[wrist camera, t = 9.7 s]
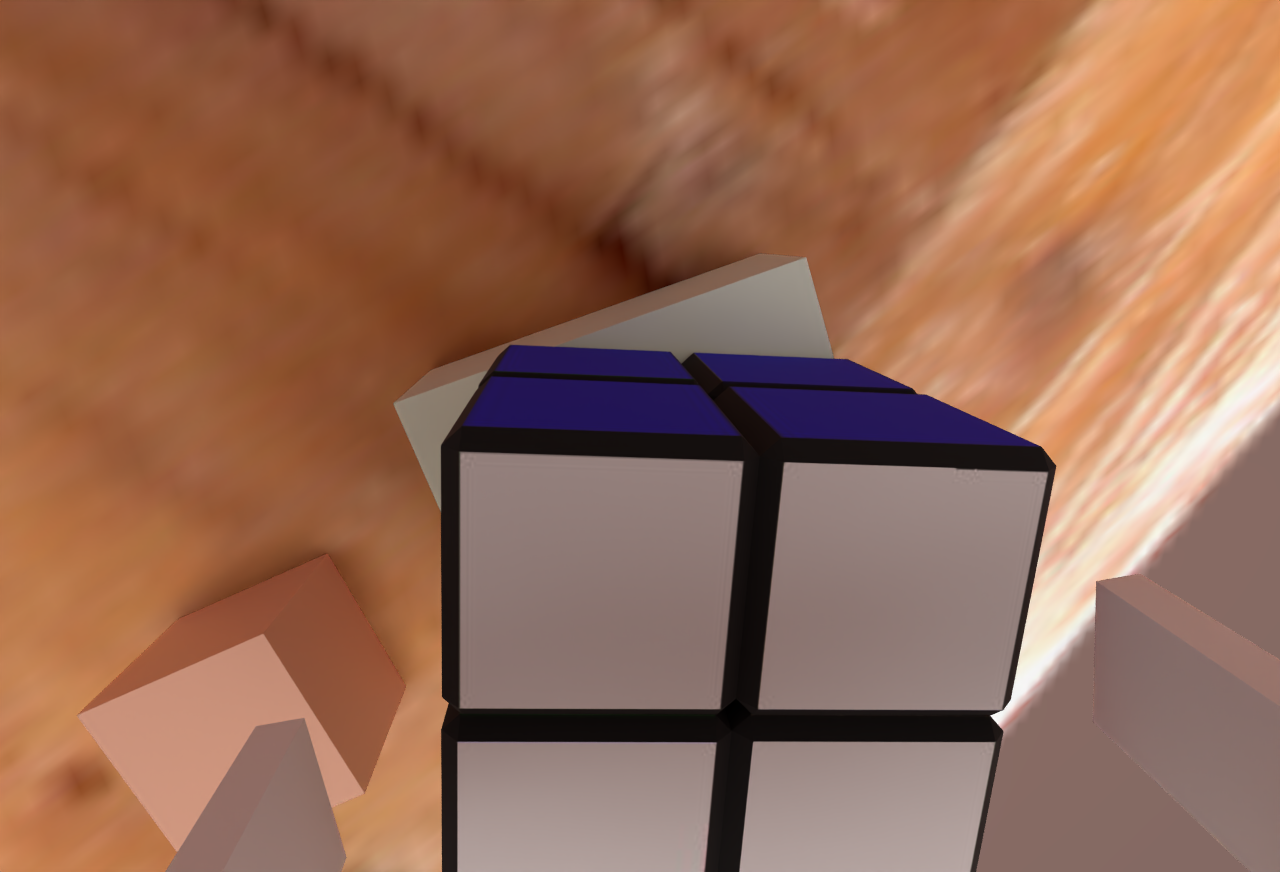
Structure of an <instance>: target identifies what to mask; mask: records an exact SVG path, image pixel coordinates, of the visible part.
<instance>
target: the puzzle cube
mask: <svg viewBox="0 0 1280 872" xmlns="http://www.w3.org/2000/svg"><path fill="white" fill-rule="evenodd" d="M1055 470H1056V465H1055V464H1054V462H1053V461H1052V460H1051V459H1050V457H1049V456H1048V455H1047V453H1046V452H1045V451H1044V449H1043V448H1042V447H1041V446H1038V445H1036V444H1034V443H1032V442H1030V441H1027V440H1025V439H1023V438H1021V437H1018V436H1016V435H1014V434H1012V433H1010V432H1007V431H1005V430H1003V429H1001V428H999V427H996V426H994V425H992V424H990V423H988V422H985V421H983V420H981V419H979V418H976V417H974V416H972V415H970V414H968V413H965V412H963V411H961V410H959V409H957V408H954V407H952V406H950V405H948V404H946V403H943V402H941V401H939V400H937V399H934V398H932V397H930V396H928V395H922V394H917V393H916V392H915V391H914V390H913V389H912V388H910V387H908V386H905V385H903V384H901V383H899V382H897V381H894V380H892V379H890V378H888V377H886V376H883V375H881V374H879V373H877V372H875V371H872V370H870V369H868V368H866V367H863V366H861V365H859V364H857V363H855V362H852V361H850V360H848V359H828V358H805V357H782V356H759V355H736V354H714V353H693V354H692V355H690V356H689V357H688V358H687V359H686V360H685V361H684V362H683V363H682V364H681V363H680V362H679V360H678V359H677V358H676V357H675V356H674V355H673V354H672V353H671V352H667V351H644V350H621V349H598V348H575V347H552V346H530V345H509V346H508V347H507V348H506V349H505V350H504V351H503V352H501V353H500V354H499V355H498V356H497V358H496V359H495V361H494V362H493V364H492V365H491V367H490V368H489V370H488V371H487V373H486V374H485V376H484V377H483V379H482V380H481V382H480V383H479V385H478V389H477V390H476V391H475V393H474V394H473V396H472V397H471V399H470V400H469V402H468V404H467V405H466V407H465V408H464V410H463V411H462V413H461V415H460V416H459V418H458V419H457V421H456V422H455V424H454V425H453V427H452V429H451V430H450V432H449V433H448V435H447V436H446V438H445V439H444V441H443V443H442V444H441V594H442V697H443V698H444V699H445V700H446V701H447V702H448V703H449V704H448V708H447V711H446V715H445V719H444V722H443V726H442V729H441V769H442V872H976V869H977V864H978V859H979V854H980V849H981V843H982V839H983V833H984V828H985V823H986V817H987V813H988V808H989V803H990V797H991V792H992V787H993V782H994V777H995V772H996V767H997V762H998V757H999V752H1000V746H1001V741H1002V736H1003V730H1002V729H1001V728H1000V727H999V726H998V724H997V723H996V722H995V721H994V720H993V719H992V717H991V716H990V715H993V714H995V713H997V712H1000V711H1002V710H1004V708H1005V707H1006V705H1007V704H1008V703H1009V701H1010V700H1011V695H1012V690H1013V685H1014V680H1015V675H1016V670H1017V665H1018V659H1019V654H1020V649H1021V644H1022V639H1023V634H1024V629H1025V624H1026V619H1027V613H1028V608H1029V603H1030V598H1031V593H1032V588H1033V583H1034V578H1035V573H1036V567H1037V562H1038V557H1039V552H1040V547H1041V542H1042V537H1043V532H1044V527H1045V521H1046V516H1047V511H1048V506H1049V501H1050V496H1051V491H1052V486H1053V481H1054V475H1055Z"/></svg>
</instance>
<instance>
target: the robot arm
mask: <svg viewBox="0 0 1280 872" xmlns="http://www.w3.org/2000/svg"><path fill="white" fill-rule="evenodd" d="M1094 655H1095V656H1094V694H1093V723H1095V724H1096V725H1097V726H1098V727H1099V728H1100V729H1101V730H1102V731H1103V732H1104V733H1105V734H1106V735H1107V736H1108V737H1109V738H1110V739H1111V740H1113V742H1114V743H1115V744H1116V745H1118V746H1119V747H1120V748H1121V749H1122V750H1123V751H1124V752H1125V753H1126V754H1127V755H1128V756H1129V757H1130V758H1131V759H1132V760H1133V761H1134V762H1135V763H1136V764H1137V765H1138V766H1140V767H1141V768H1142V769H1143V770H1144V771H1145V772H1146V773H1147V774H1148V775H1149V776H1150V777H1151V778H1152V779H1153V780H1154V781H1155V782H1156V783H1157V784H1158V785H1159V786H1160V787H1162V788H1163V789H1164V790H1165V791H1166V792H1167V793H1168V794H1169V795H1170V796H1171V797H1172V798H1173V799H1174V800H1175V801H1176V802H1177V803H1178V804H1179V805H1180V806H1182V807H1183V808H1184V809H1185V810H1186V811H1187V812H1188V813H1189V814H1190V815H1191V816H1192V817H1193V818H1194V819H1195V820H1196V821H1197V822H1198V823H1199V824H1200V825H1201V826H1202V827H1204V828H1205V829H1206V830H1207V831H1208V832H1209V833H1210V834H1211V835H1212V836H1213V837H1214V838H1215V839H1216V840H1217V841H1218V842H1219V843H1220V844H1221V845H1222V846H1223V847H1224V848H1226V849H1227V850H1228V851H1229V852H1230V853H1231V854H1232V855H1233V856H1234V857H1235V858H1236V859H1237V860H1238V861H1239V862H1240V863H1241V864H1242V865H1243V866H1244V867H1245V868H1246V869H1247V870H1249V871H1250V872H1280V660H1279V659H1278V658H1276V657H1275V656H1273V655H1271V654H1269V653H1268V652H1267V651H1265V650H1263V649H1262V648H1260V647H1258V646H1257V645H1255V644H1254V643H1252V642H1250V641H1249V640H1247V639H1245V638H1244V637H1242V636H1240V635H1239V634H1237V633H1236V632H1234V631H1232V630H1231V629H1229V628H1228V627H1226V626H1224V625H1223V624H1221V623H1219V622H1218V621H1216V620H1215V619H1213V618H1211V617H1210V616H1208V615H1206V614H1205V613H1203V612H1202V611H1200V610H1198V609H1197V608H1195V607H1193V606H1192V605H1190V604H1188V603H1187V602H1185V601H1184V600H1182V599H1180V598H1179V597H1177V596H1176V595H1174V594H1172V593H1171V592H1169V591H1167V590H1166V589H1164V588H1163V587H1161V586H1159V585H1158V584H1156V583H1155V582H1153V581H1151V580H1150V579H1148V578H1146V577H1145V576H1143V575H1142V574H1135V575H1130V576H1124V577H1118V578H1112V579H1106V580H1101V581H1096V614H1095V654H1094ZM345 859H346V854H345V851H344V848H343V844H342V841H341V838H340V834H339V831H338V828H337V824H336V821H335V818H334V814H333V811H332V808H331V804H330V801H329V798H328V794H327V791H326V788H325V784H324V781H323V778H322V774H321V771H320V768H319V764H318V761H317V758H316V754H315V751H314V748H313V745H312V741H311V738H310V735H309V731H308V728H307V725H306V721H305V718H300V719H294V720H289V721H283V722H277V723H271V724H265V725H259V726H256V727H255V728H254V730H253V731H252V733H251V735H250V736H249V738H248V740H247V741H246V743H245V744H244V746H243V748H242V749H241V751H240V752H239V754H238V756H237V757H236V759H235V760H234V762H233V764H232V765H231V767H230V768H229V770H228V772H227V773H226V775H225V777H224V778H223V780H222V781H221V783H220V785H219V786H218V788H217V789H216V791H215V793H214V794H213V796H212V797H211V799H210V801H209V802H208V804H207V806H206V807H205V809H204V810H203V812H202V814H201V815H200V817H199V818H198V820H197V822H196V823H195V825H194V826H193V828H192V830H191V831H190V833H189V834H188V836H187V838H186V839H185V841H184V843H183V844H182V846H181V847H180V849H179V851H178V852H177V854H176V855H175V857H174V859H173V860H172V862H171V863H170V865H169V867H168V868H167V870H166V872H341V871H342V868H343V865H344V862H345Z"/></svg>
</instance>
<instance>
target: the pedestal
mask: <svg viewBox="0 0 1280 872" xmlns="http://www.w3.org/2000/svg"><path fill="white" fill-rule="evenodd" d="M509 345H530V346H552V347H575V348H598V349H621V350H644V351H667V352H671V353H672V354H673V355H674V356H675V357H676V358H677V359H678V360H679V362H680V363H681V364H682V363H683V362H684V361H685V360H686V359H687V358H688V357H689V356H690V355H692V354H693V353H714V354H736V355H759V356H782V357H805V358H828V359H834V356H833V353H832V349H831V345H830V342H829V338H828V335H827V331H826V327H825V324H824V320H823V317H822V313H821V309H820V306H819V302H818V298H817V295H816V291H815V288H814V284H813V280H812V277H811V273H810V270H809V266H808V262H807V259H806V257H798V256H786V255H774V254H762V253H760V254H757V255H754V256H751V257H748V258H745V259H743V260H740V261H737V262H734V263H731V264H729V265H726V266H723V267H720V268H717V269H714V270H712V271H709V272H706V273H703V274H700V275H698V276H695V277H692V278H689V279H686V280H683V281H681V282H678V283H675V284H672V285H669V286H666V287H664V288H661V289H658V290H655V291H652V292H650V293H647V294H644V295H641V296H638V297H635V298H633V299H630V300H627V301H624V302H621V303H619V304H616V305H613V306H610V307H607V308H604V309H602V310H599V311H596V312H593V313H590V314H587V315H585V316H582V317H579V318H576V319H573V320H571V321H568V322H565V323H562V324H559V325H556V326H554V327H551V328H548V329H545V330H542V331H539V332H537V333H534V334H531V335H528V336H525V337H523V338H520V339H517V340H514V341H511V342H508V343H506V344H503V345H500V346H497V347H494V348H492V349H489V350H486V351H483V352H480V353H477V354H475V355H472V356H469V357H466V358H463V359H460V360H458V361H455V362H452V363H449V364H446V365H444V366H441V367H438V368H435V369H432V370H430V371H429V372H428V373H427V374H426V375H424V376H423V377H422V378H421V379H420V380H419V381H418V382H417V383H415V384H414V385H413V386H412V387H411V388H410V389H409V390H408V391H406V392H405V393H404V394H403V395H402V396H401V397H400V398H399V399H397V400H396V401H395V402H394V403H393V404H394V407H395V409H396V411H397V414H398V416H399V418H400V420H401V423H402V425H403V427H404V429H405V432H406V434H407V436H408V439H409V441H410V443H411V445H412V448H413V450H414V452H415V454H416V457H417V459H418V461H419V464H420V466H421V468H422V470H423V473H424V475H425V477H426V479H427V482H428V484H429V486H430V489H431V491H432V493H433V495H434V498H435V500H436V502H437V505H438V507H439V509H440V511H441V444H442V443H443V441H444V439H445V438H446V436H447V435H448V433H449V432H450V430H451V429H452V427H453V425H454V424H455V422H456V421H457V419H458V418H459V416H460V415H461V413H462V411H463V410H464V408H465V407H466V405H467V404H468V402H469V400H470V399H471V397H472V396H473V394H474V393H475V391H476V390H477V389H478V385H479V383H480V382H481V380H482V379H483V377H484V376H485V374H486V373H487V371H488V370H489V368H490V367H491V365H492V364H493V362H494V361H495V359H496V358H497V356H498V355H499V354H500V353H501V352H503V351H504V350H505V349H506V348H507V347H508V346H509Z"/></svg>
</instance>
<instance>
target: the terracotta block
mask: <svg viewBox="0 0 1280 872" xmlns="http://www.w3.org/2000/svg"><path fill="white" fill-rule="evenodd" d="M405 688H406V685H405V683H404V682H403V680H402V678H401V677H400V675H399V673H398V672H397V670H396V668H395V667H394V665H393V663H392V661H391V660H390V658H389V656H388V655H387V653H386V651H385V650H384V648H383V646H382V645H381V643H380V641H379V639H378V638H377V636H376V634H375V633H374V631H373V629H372V628H371V626H370V624H369V623H368V621H367V619H366V617H365V616H364V614H363V612H362V611H361V609H360V607H359V606H358V604H357V602H356V601H355V599H354V597H353V596H352V594H351V592H350V590H349V589H348V587H347V585H346V584H345V582H344V580H343V579H342V577H341V575H340V574H339V572H338V570H337V568H336V567H335V565H334V563H333V562H332V560H331V558H330V557H329V555H328V553H327V554H325V555H322V556H320V557H318V558H316V559H313V560H311V561H309V562H306V563H304V564H302V565H300V566H297V567H295V568H293V569H291V570H288V571H286V572H284V573H281V574H279V575H277V576H275V577H272V578H270V579H268V580H266V581H263V582H261V583H259V584H256V585H254V586H252V587H250V588H247V589H245V590H243V591H241V592H238V593H236V594H234V595H232V596H229V597H227V598H225V599H222V600H220V601H218V602H216V603H213V604H211V605H209V606H207V607H204V608H202V609H200V610H197V611H195V612H193V613H191V614H188V615H186V616H184V617H182V618H179V619H178V620H177V621H176V622H175V623H173V624H172V625H171V626H170V627H169V628H168V629H167V630H166V631H165V632H164V633H163V634H162V635H161V636H160V637H159V638H158V639H157V640H156V641H154V642H153V643H152V644H151V645H150V646H149V647H148V648H147V649H146V650H145V651H144V652H143V653H142V654H141V655H140V656H139V657H138V658H137V659H136V660H134V661H133V662H132V663H131V664H130V665H129V666H128V667H127V668H126V669H125V670H124V671H123V672H122V673H121V674H120V675H119V676H118V677H117V678H116V679H114V680H113V681H112V682H111V683H110V684H109V685H108V686H107V687H106V688H105V689H104V690H103V691H102V692H101V693H100V694H99V695H98V696H97V697H96V698H94V699H93V700H92V701H91V702H90V703H89V704H88V705H87V706H86V707H85V708H84V709H83V710H82V711H81V712H80V713H79V714H78V715H77V717H78V718H79V719H80V721H81V722H82V723H83V725H84V726H85V727H86V729H87V730H88V732H89V733H90V734H91V736H92V737H93V738H94V740H95V741H96V742H97V744H98V745H99V747H100V748H101V749H102V751H103V752H104V753H105V755H106V756H107V757H108V759H109V760H110V762H111V763H112V764H113V766H114V767H115V768H116V770H117V771H118V772H119V774H120V775H121V777H122V778H123V779H124V781H125V782H126V783H127V785H128V786H129V787H130V789H131V790H132V791H133V793H134V794H135V796H136V797H137V798H138V800H139V801H140V802H141V804H142V805H143V806H144V808H145V809H146V811H147V812H148V813H149V815H150V816H151V817H152V819H153V820H154V821H155V823H156V824H157V826H158V827H159V828H160V830H161V831H162V832H163V834H164V835H165V836H166V838H167V839H168V841H169V842H170V843H171V845H172V846H173V847H174V849H175V850H176V851H177V852H178V851H179V849H180V847H181V846H182V844H183V843H184V841H185V839H186V838H187V836H188V834H189V833H190V831H191V830H192V828H193V826H194V825H195V823H196V822H197V820H198V818H199V817H200V815H201V814H202V812H203V810H204V809H205V807H206V806H207V804H208V802H209V801H210V799H211V797H212V796H213V794H214V793H215V791H216V789H217V788H218V786H219V785H220V783H221V781H222V780H223V778H224V777H225V775H226V773H227V772H228V770H229V768H230V767H231V765H232V764H233V762H234V760H235V759H236V757H237V756H238V754H239V752H240V751H241V749H242V748H243V746H244V744H245V743H246V741H247V740H248V738H249V736H250V735H251V733H252V731H253V730H254V728H255V727H256V726H259V725H265V724H271V723H277V722H283V721H289V720H294V719H300V718H305V721H306V725H307V728H308V731H309V735H310V738H311V741H312V745H313V748H314V751H315V754H316V758H317V761H318V764H319V768H320V771H321V774H322V778H323V781H324V784H325V788H326V791H327V794H328V798H329V801H330V804H331V808H332V807H334V806H337V805H339V804H341V803H344V802H346V801H348V800H351V799H353V798H355V797H358V796H360V795H362V794H365V791H366V789H367V786H368V784H369V781H370V778H371V776H372V773H373V771H374V768H375V765H376V763H377V760H378V758H379V755H380V752H381V750H382V747H383V745H384V742H385V740H386V737H387V734H388V732H389V729H390V727H391V724H392V721H393V719H394V716H395V714H396V711H397V708H398V706H399V703H400V701H401V698H402V695H403V693H404V690H405Z"/></svg>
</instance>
